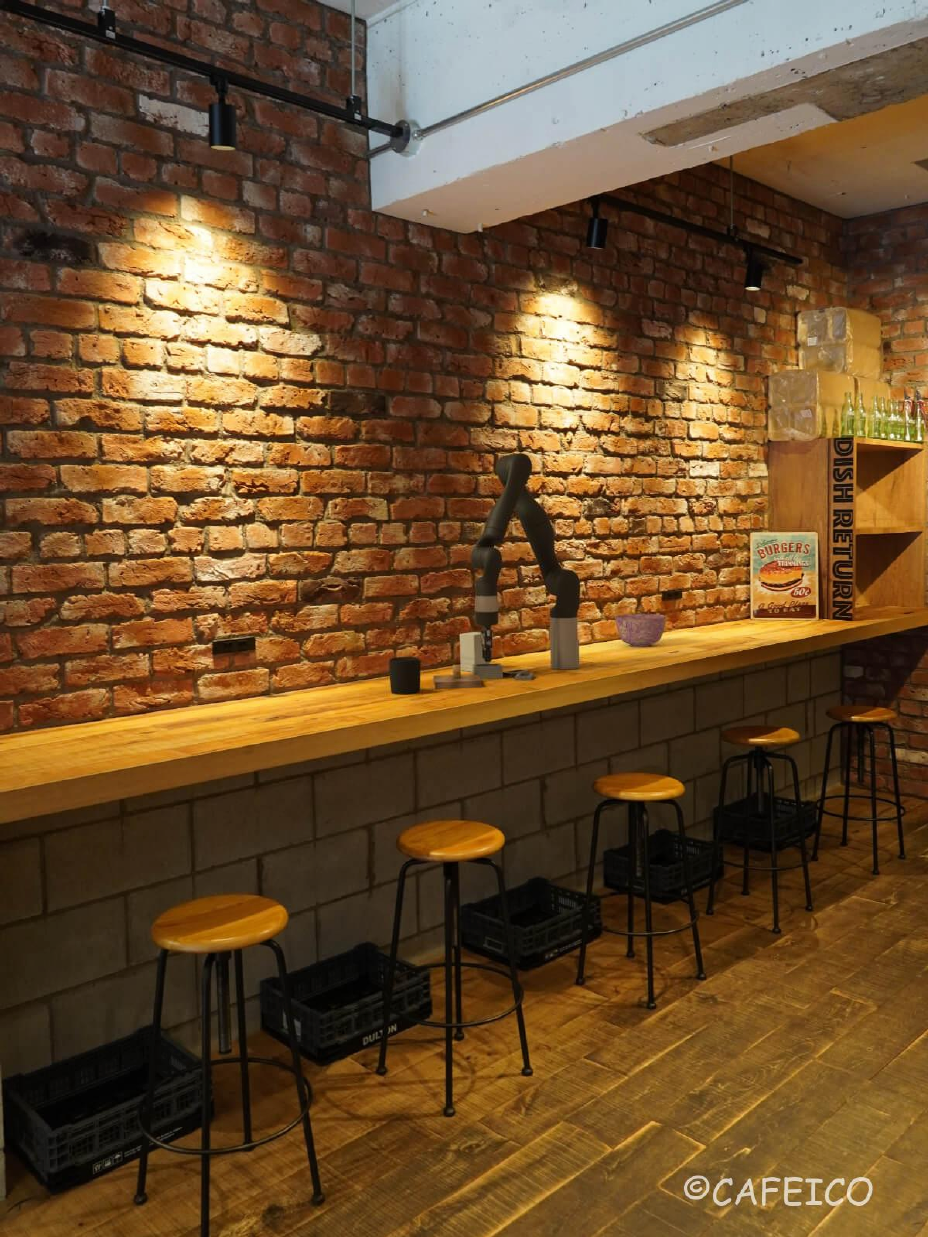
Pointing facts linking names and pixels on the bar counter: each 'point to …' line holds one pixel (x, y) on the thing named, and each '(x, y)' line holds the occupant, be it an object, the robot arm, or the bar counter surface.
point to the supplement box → (470, 650)
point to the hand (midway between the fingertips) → (486, 660)
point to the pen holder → (404, 675)
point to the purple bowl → (640, 629)
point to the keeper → (457, 680)
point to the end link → (488, 670)
